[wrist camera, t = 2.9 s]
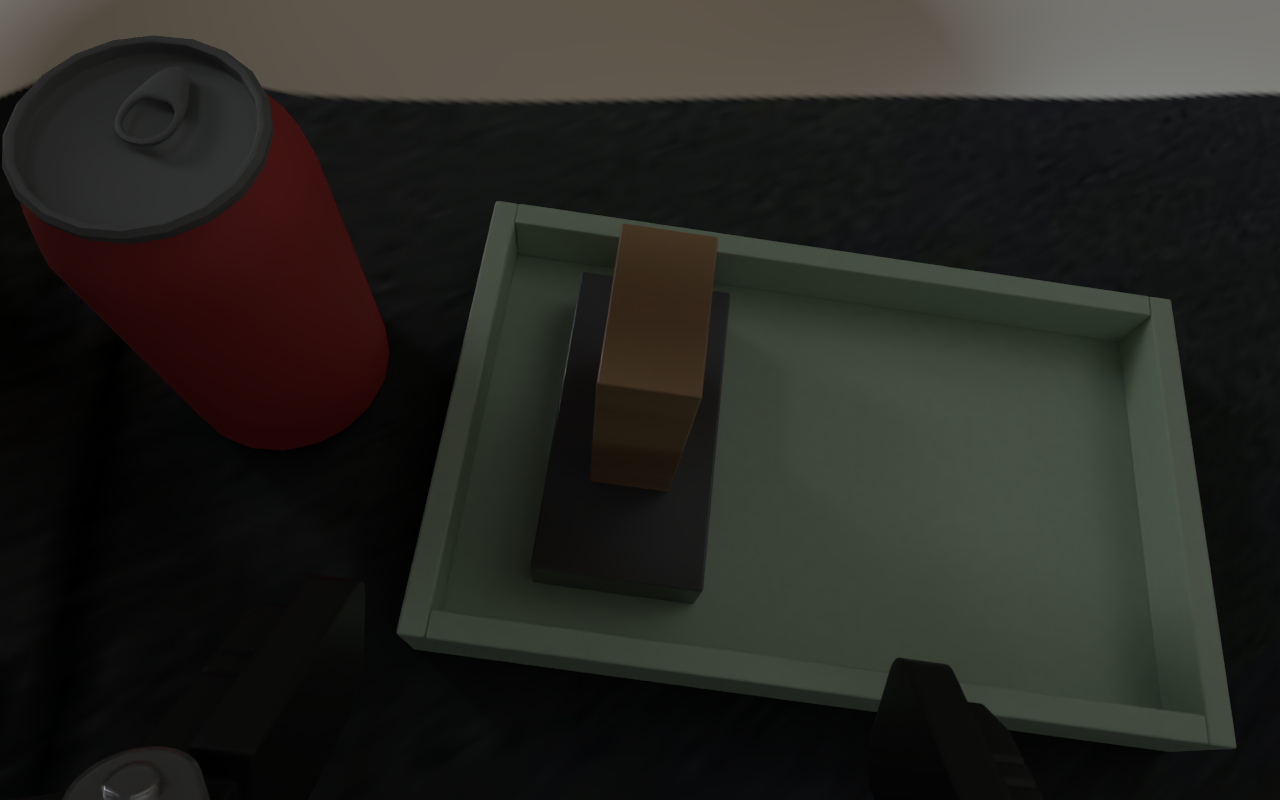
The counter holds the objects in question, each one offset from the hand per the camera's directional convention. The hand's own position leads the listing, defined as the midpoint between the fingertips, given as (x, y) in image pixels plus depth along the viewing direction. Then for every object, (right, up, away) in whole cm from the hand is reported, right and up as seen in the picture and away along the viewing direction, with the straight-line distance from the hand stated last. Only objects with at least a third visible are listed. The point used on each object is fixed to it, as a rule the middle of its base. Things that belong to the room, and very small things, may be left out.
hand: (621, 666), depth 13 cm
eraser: (0, +3, +16) cm, 16 cm away
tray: (+6, +1, +17) cm, 18 cm away
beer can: (-12, +5, +17) cm, 21 cm away
